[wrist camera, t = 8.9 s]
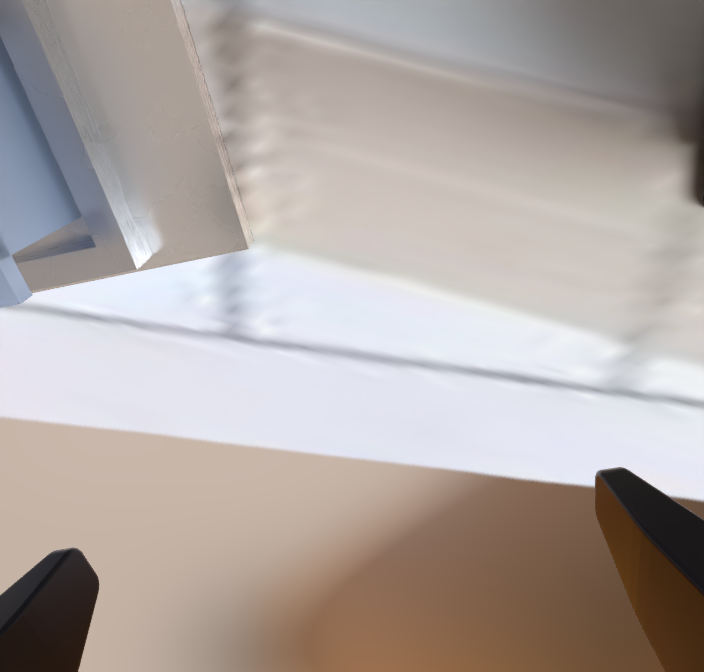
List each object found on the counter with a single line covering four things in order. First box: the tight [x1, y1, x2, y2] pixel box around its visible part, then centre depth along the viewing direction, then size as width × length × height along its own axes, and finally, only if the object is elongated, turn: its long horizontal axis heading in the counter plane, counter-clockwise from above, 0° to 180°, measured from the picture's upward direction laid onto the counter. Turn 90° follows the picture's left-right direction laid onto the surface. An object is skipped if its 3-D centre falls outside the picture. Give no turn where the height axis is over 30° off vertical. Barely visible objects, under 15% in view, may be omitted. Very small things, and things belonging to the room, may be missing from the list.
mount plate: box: [0, 0, 254, 293], centre depth 16 cm, size 12×10×2 cm
